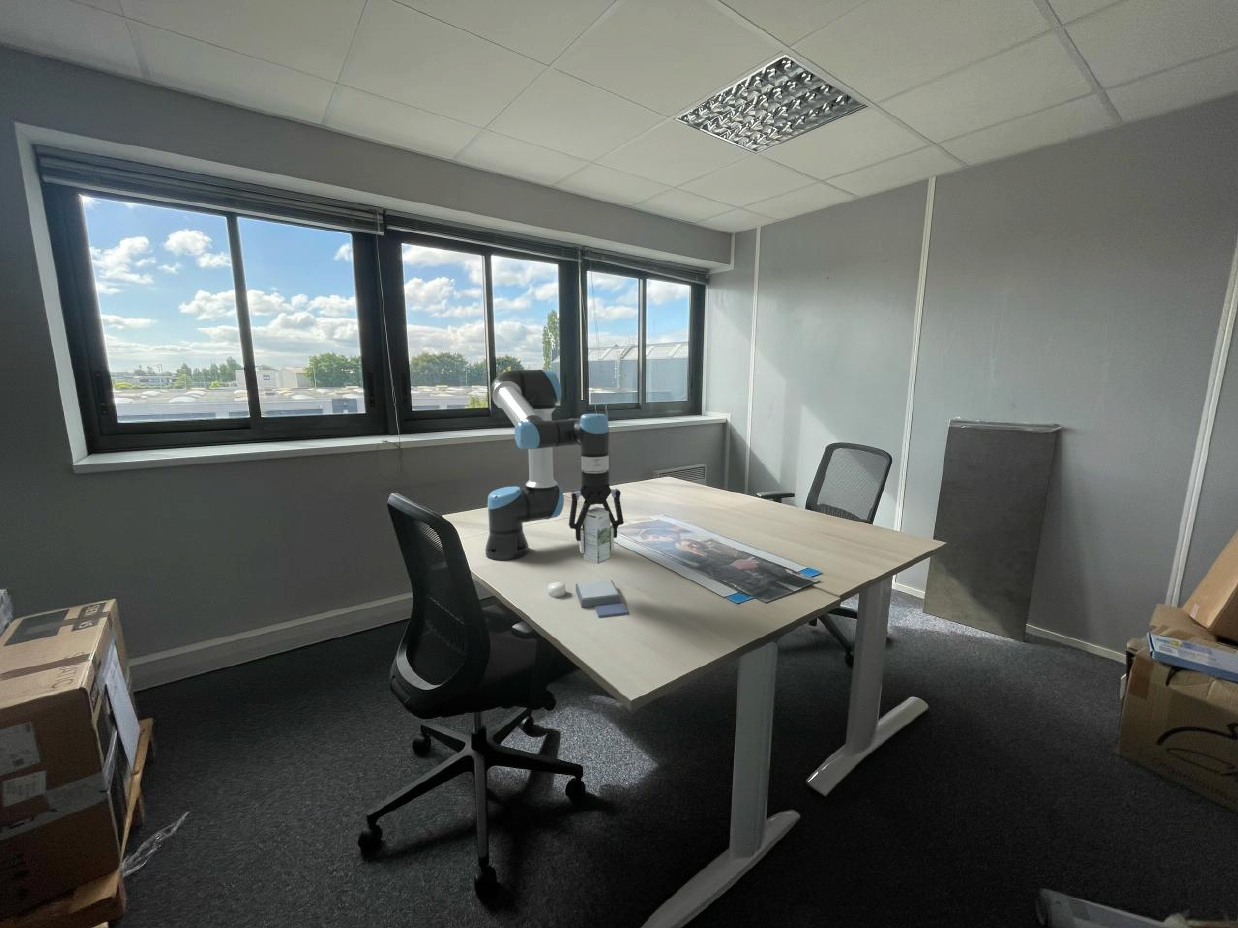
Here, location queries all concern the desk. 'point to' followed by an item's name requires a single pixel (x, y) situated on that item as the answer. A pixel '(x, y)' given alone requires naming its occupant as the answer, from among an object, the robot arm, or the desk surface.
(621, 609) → the navy notebook
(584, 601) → the podium
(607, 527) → the syrup box
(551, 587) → the white dome
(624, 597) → the desk surface
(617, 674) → the desk surface
